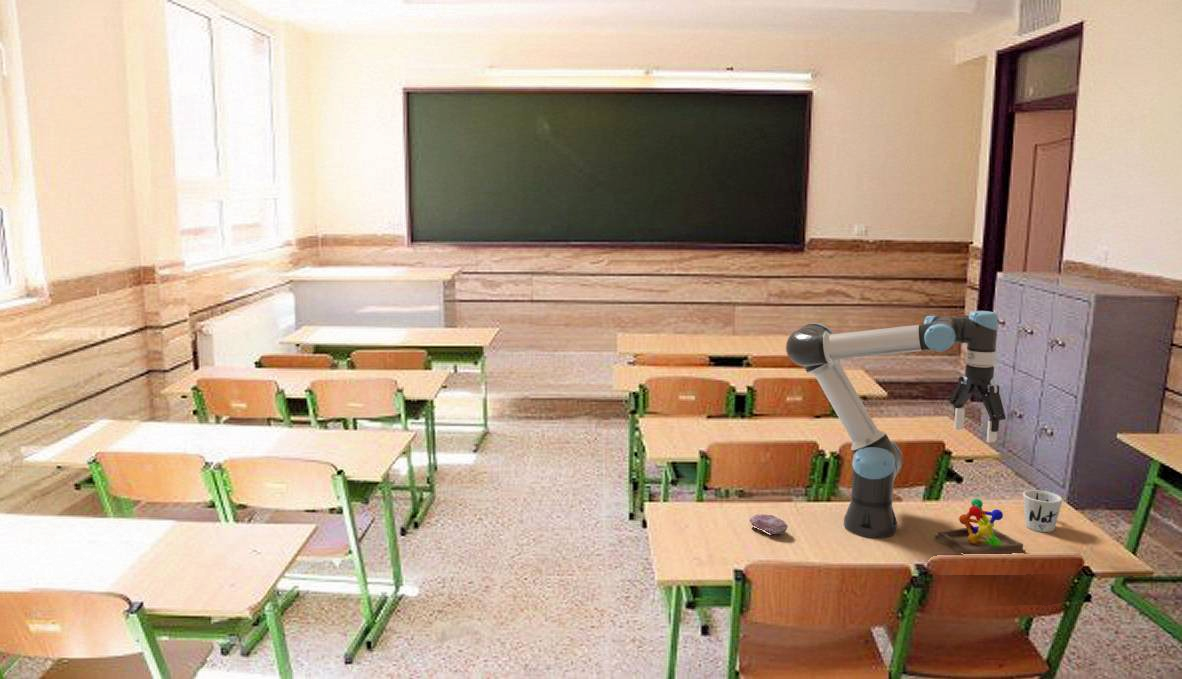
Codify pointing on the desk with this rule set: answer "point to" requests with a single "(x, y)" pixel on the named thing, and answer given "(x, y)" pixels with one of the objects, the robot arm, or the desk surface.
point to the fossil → (769, 523)
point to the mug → (1041, 510)
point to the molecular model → (981, 524)
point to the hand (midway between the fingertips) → (974, 435)
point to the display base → (960, 543)
